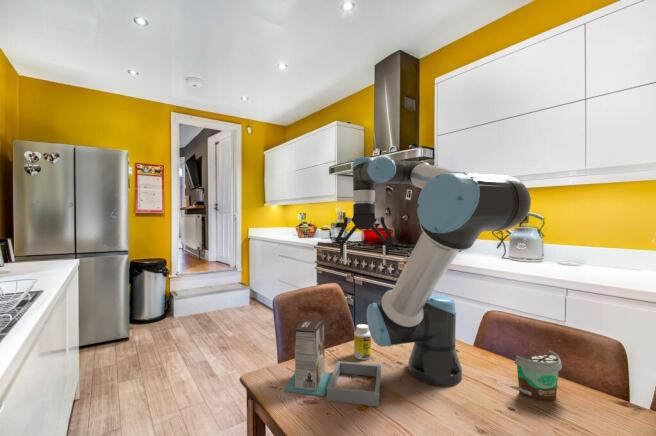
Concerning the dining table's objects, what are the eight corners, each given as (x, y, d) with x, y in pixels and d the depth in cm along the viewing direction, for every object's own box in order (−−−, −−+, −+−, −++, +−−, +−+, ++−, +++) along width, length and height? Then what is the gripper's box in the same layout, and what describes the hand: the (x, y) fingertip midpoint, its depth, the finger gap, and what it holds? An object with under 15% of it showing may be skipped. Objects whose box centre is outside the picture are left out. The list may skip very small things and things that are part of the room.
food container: (536, 408, 74) (536, 366, 73) (514, 393, 79) (514, 355, 79) (574, 399, 77) (574, 360, 77) (550, 386, 83) (550, 349, 83)
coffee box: (304, 371, 90) (303, 318, 90) (325, 374, 89) (324, 319, 89) (294, 389, 81) (294, 329, 81) (317, 391, 80) (317, 331, 80)
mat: (332, 374, 89) (332, 373, 89) (324, 396, 79) (324, 394, 79) (296, 371, 92) (296, 369, 92) (284, 391, 81) (284, 389, 81)
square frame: (381, 375, 89) (381, 365, 89) (378, 406, 74) (378, 394, 74) (337, 370, 92) (337, 361, 92) (326, 400, 77) (326, 388, 77)
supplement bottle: (363, 362, 97) (363, 330, 97) (350, 356, 101) (350, 326, 101) (374, 356, 101) (374, 325, 101) (361, 351, 105) (361, 321, 105)
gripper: (399, 203, 107) (400, 263, 107) (330, 204, 111) (330, 261, 111) (401, 202, 100) (402, 266, 100) (326, 203, 104) (327, 265, 104)
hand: (364, 264), depth 106 cm, fingers open, 13 cm apart
